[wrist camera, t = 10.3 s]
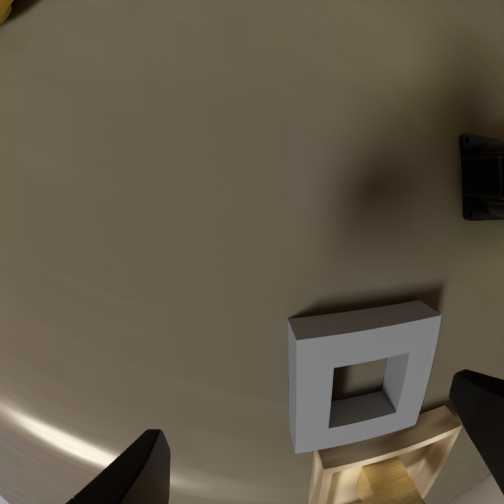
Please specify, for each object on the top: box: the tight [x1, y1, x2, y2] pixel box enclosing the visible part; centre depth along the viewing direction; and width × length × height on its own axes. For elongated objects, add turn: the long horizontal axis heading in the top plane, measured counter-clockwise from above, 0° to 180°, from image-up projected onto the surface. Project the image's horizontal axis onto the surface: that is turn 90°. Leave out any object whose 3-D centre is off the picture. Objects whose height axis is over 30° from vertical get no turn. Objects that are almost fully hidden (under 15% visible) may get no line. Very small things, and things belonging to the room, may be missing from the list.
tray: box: [308, 405, 462, 504], centre depth 22 cm, size 14×14×4 cm
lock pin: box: [356, 456, 425, 504], centre depth 19 cm, size 4×4×9 cm
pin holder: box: [288, 300, 442, 454], centre depth 19 cm, size 10×10×3 cm
